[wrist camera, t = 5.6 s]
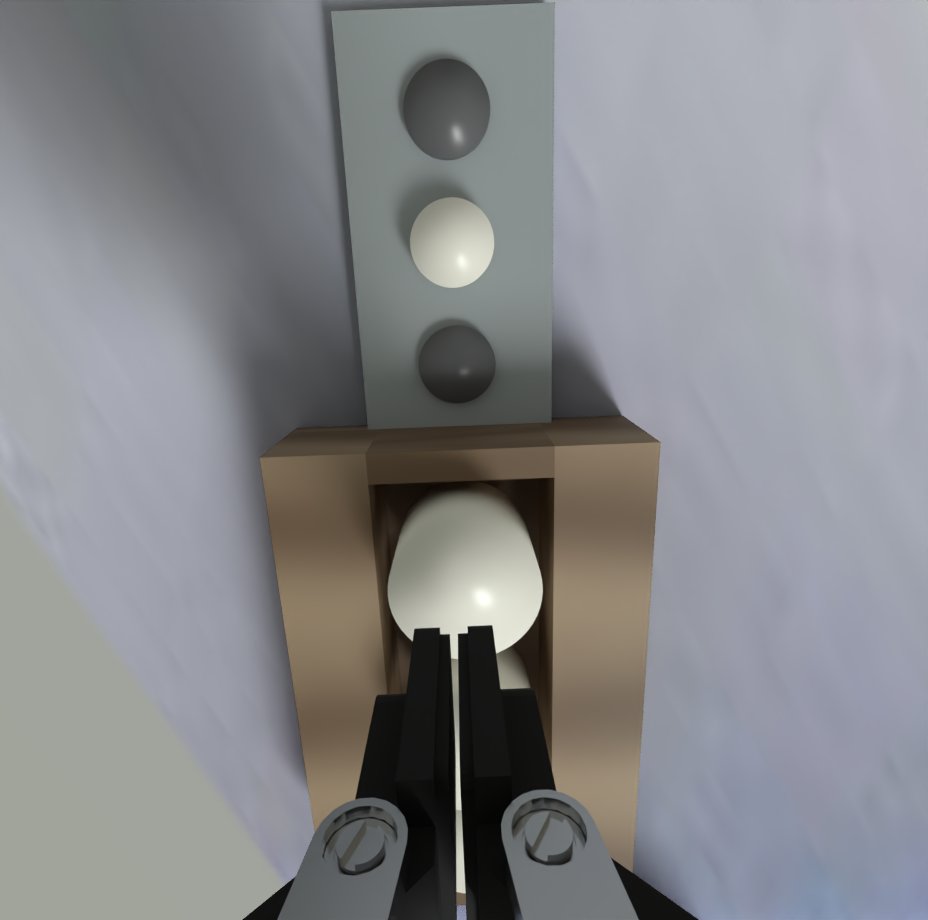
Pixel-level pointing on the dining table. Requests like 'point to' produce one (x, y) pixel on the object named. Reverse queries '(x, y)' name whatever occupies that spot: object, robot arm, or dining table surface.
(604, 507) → the wooden egg tray
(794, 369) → the dining table surface
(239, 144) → the dining table surface
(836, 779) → the dining table surface
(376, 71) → the card
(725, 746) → the dining table surface
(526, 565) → the white egg
